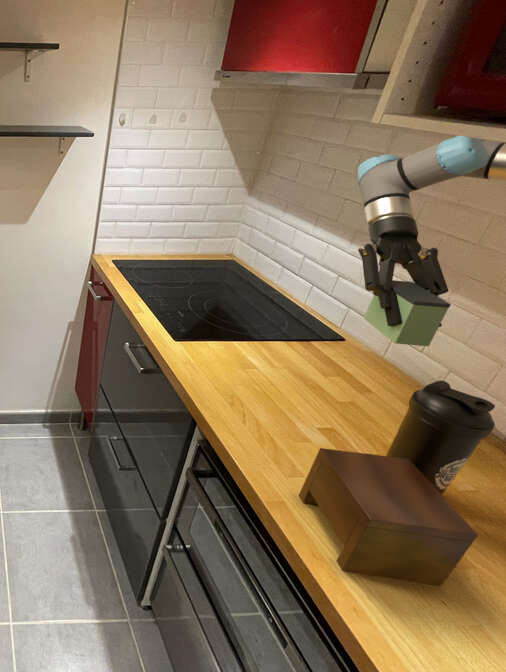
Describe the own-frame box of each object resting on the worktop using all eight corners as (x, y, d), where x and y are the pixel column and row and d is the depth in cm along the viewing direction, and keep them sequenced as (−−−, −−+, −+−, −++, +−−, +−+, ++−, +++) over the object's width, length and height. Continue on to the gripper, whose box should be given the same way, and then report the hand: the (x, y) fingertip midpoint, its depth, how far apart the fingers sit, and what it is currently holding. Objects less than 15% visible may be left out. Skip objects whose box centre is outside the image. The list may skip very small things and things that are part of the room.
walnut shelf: (381, 506, 82) (408, 458, 77) (441, 586, 69) (478, 534, 64) (298, 495, 84) (319, 447, 79) (341, 570, 71) (370, 519, 66)
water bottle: (422, 521, 79) (485, 421, 70) (358, 476, 88) (407, 382, 78) (453, 502, 83) (518, 405, 73) (389, 461, 91) (439, 370, 82)
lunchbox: (393, 321, 97) (412, 281, 93) (429, 346, 88) (451, 304, 84) (363, 318, 98) (380, 279, 94) (394, 343, 89) (415, 301, 85)
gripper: (426, 233, 98) (452, 335, 90) (331, 227, 101) (348, 326, 93) (456, 217, 92) (487, 326, 84) (354, 211, 94) (374, 316, 86)
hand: (414, 325), depth 88 cm, fingers closed on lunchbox, 6 cm apart
